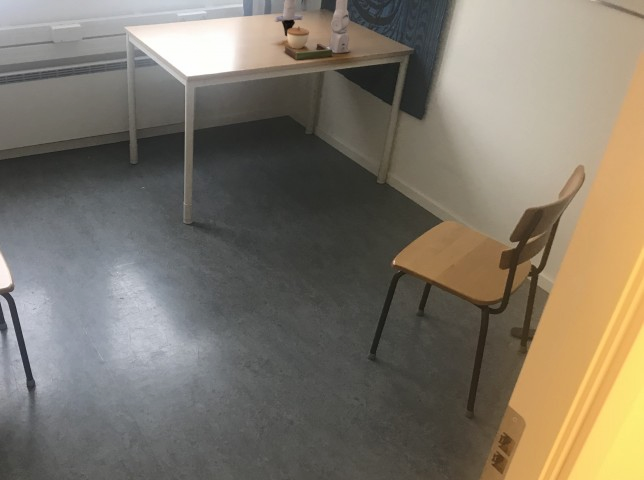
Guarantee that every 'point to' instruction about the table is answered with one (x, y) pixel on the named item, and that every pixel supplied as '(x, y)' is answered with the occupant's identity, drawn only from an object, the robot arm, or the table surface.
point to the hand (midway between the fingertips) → (286, 35)
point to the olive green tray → (310, 53)
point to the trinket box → (297, 37)
